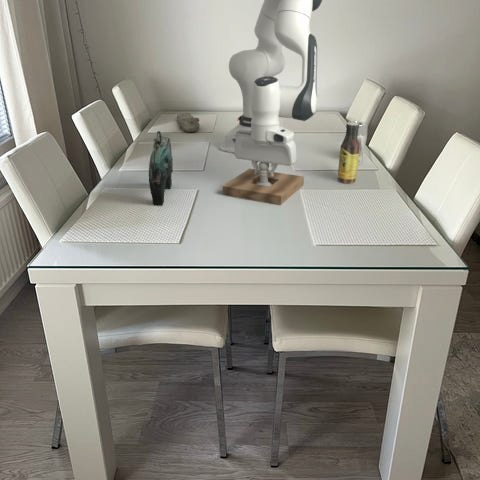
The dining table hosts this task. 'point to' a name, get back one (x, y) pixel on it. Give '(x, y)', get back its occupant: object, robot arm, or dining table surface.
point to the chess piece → (264, 174)
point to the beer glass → (362, 139)
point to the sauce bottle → (349, 154)
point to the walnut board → (263, 187)
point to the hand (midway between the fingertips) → (264, 175)
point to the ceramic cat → (160, 168)
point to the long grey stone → (188, 122)
